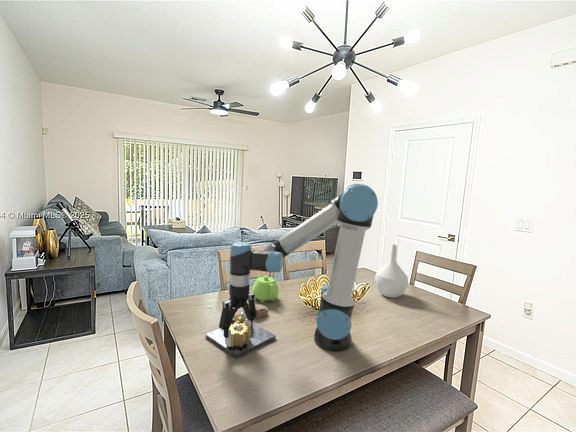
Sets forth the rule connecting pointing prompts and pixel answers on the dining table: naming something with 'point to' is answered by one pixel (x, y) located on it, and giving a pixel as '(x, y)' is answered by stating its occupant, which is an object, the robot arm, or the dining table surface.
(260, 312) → the stone
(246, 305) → the robot arm
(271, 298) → the teapot
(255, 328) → the plate
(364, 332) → the dining table surface
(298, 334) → the dining table surface
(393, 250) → the vase
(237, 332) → the planet gear
